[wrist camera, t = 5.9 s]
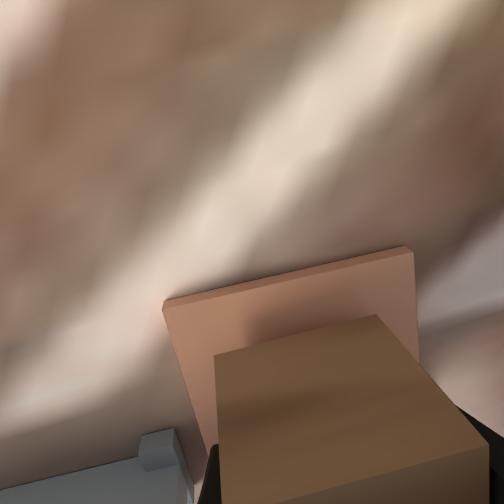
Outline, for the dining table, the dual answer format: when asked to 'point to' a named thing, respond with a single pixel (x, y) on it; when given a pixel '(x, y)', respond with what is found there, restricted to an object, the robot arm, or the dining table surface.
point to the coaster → (287, 315)
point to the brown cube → (342, 424)
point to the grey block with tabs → (118, 479)
